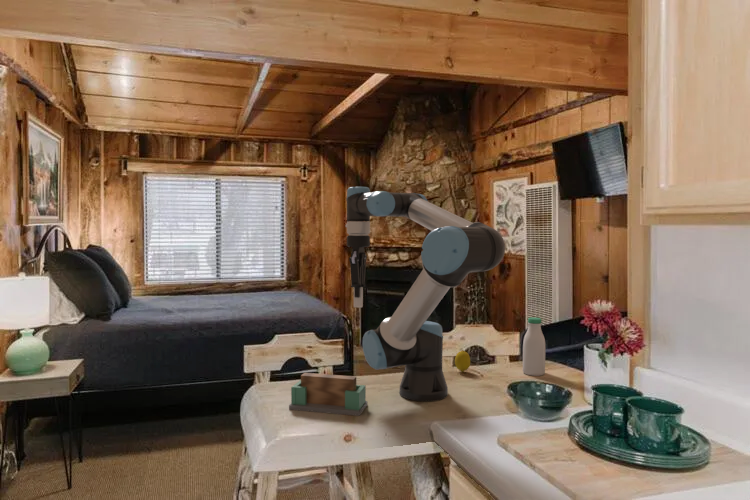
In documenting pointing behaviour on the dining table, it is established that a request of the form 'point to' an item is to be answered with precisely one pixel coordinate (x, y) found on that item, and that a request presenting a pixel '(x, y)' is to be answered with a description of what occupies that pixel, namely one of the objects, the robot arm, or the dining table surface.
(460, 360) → the lemon
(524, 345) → the milk bottle
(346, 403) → the cradle
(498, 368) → the dining table surface
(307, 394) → the slat
